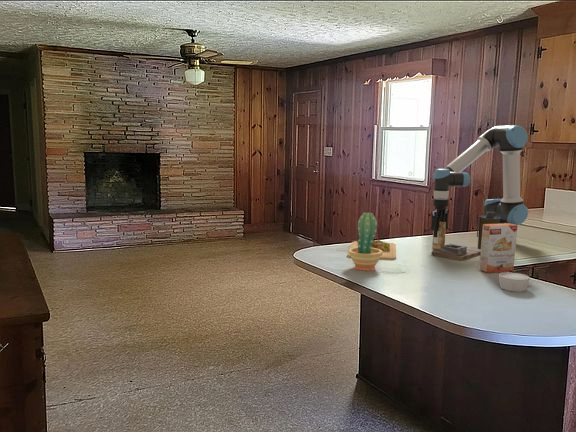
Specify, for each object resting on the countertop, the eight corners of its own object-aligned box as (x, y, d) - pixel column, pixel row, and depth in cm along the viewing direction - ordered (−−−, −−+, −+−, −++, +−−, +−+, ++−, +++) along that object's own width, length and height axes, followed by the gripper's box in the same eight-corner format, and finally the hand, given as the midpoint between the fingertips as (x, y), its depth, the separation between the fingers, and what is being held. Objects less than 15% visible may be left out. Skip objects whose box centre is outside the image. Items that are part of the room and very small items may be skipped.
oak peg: (436, 246, 286) (438, 221, 284) (444, 248, 283) (445, 222, 281) (432, 248, 283) (433, 222, 281) (439, 249, 280) (441, 223, 278)
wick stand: (456, 247, 284) (457, 239, 283) (485, 253, 272) (485, 244, 272) (431, 254, 268) (431, 245, 267) (460, 260, 256) (461, 251, 255)
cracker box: (487, 273, 233) (490, 226, 229) (478, 270, 238) (481, 223, 235) (514, 271, 236) (518, 224, 233) (505, 268, 242) (509, 222, 239)
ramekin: (503, 283, 218) (504, 270, 217) (532, 288, 211) (533, 275, 210) (493, 289, 210) (494, 276, 209) (523, 294, 203) (524, 281, 202)
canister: (495, 248, 284) (497, 210, 281) (500, 252, 274) (503, 213, 271) (474, 247, 285) (476, 210, 282) (478, 251, 275) (481, 213, 272)
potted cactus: (388, 267, 241) (390, 212, 237) (369, 274, 230) (371, 216, 226) (360, 262, 251) (361, 209, 248) (340, 268, 240) (342, 212, 236)
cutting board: (396, 261, 256) (396, 246, 255) (346, 259, 260) (347, 243, 259) (395, 246, 290) (396, 232, 289) (352, 244, 294) (352, 230, 293)
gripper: (443, 196, 287) (441, 239, 291) (425, 199, 276) (423, 243, 279) (456, 197, 282) (453, 241, 286) (438, 200, 270) (435, 245, 274)
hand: (438, 242), depth 282 cm, fingers closed on oak peg, 4 cm apart
